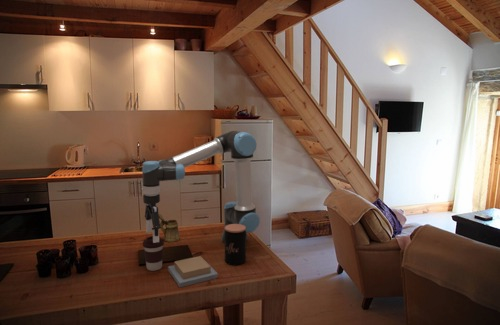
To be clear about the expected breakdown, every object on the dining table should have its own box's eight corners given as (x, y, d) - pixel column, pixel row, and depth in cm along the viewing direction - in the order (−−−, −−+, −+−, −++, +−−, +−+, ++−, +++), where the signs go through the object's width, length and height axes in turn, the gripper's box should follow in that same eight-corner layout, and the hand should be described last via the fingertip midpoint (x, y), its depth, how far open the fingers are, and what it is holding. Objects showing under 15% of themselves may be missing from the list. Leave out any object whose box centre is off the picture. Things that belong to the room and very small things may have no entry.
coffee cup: (159, 273, 163) (158, 243, 161) (139, 271, 165) (138, 241, 163) (168, 264, 173) (167, 235, 170) (149, 262, 175) (148, 233, 172)
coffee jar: (220, 261, 177) (220, 227, 174) (235, 254, 184) (235, 222, 182) (235, 267, 170) (235, 232, 167) (250, 260, 177) (250, 227, 174)
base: (203, 262, 175) (203, 253, 174) (217, 277, 159) (217, 267, 159) (168, 270, 166) (167, 260, 165) (179, 287, 151) (179, 276, 150)
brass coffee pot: (156, 237, 207) (155, 208, 204) (179, 236, 210) (179, 207, 207) (156, 243, 199) (154, 213, 196) (180, 241, 202) (179, 211, 199)
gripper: (137, 189, 172) (139, 230, 175) (149, 201, 151) (150, 247, 154) (153, 187, 176) (154, 228, 179) (166, 199, 154) (167, 244, 157)
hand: (152, 237), depth 166 cm, fingers open, 13 cm apart
